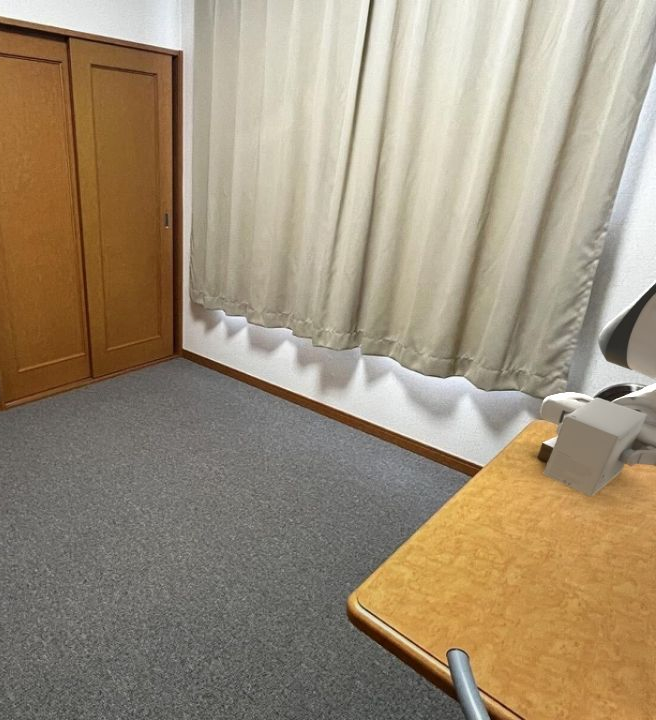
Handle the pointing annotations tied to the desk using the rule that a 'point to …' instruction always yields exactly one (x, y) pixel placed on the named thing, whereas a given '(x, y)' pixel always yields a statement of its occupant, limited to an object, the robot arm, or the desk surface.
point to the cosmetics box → (593, 445)
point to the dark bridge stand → (547, 449)
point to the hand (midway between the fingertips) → (592, 444)
